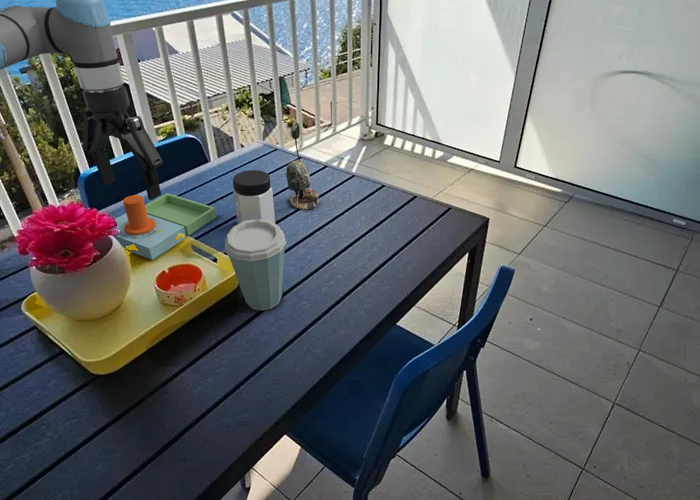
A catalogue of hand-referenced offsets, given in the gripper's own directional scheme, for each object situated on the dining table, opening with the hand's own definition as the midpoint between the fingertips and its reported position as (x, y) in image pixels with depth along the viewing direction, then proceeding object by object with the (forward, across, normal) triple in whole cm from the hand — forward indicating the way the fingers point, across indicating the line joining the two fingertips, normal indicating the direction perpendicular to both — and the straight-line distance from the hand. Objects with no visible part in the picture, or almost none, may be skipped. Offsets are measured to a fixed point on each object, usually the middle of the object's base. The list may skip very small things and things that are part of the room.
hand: (131, 190), depth 104 cm
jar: (+13, -18, -17) cm, 28 cm away
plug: (+12, 0, 0) cm, 12 cm away
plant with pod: (+13, -22, -31) cm, 40 cm away
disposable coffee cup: (+13, -36, +5) cm, 38 cm away
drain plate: (+12, 0, 0) cm, 12 cm away
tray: (+12, 0, -11) cm, 16 cm away
